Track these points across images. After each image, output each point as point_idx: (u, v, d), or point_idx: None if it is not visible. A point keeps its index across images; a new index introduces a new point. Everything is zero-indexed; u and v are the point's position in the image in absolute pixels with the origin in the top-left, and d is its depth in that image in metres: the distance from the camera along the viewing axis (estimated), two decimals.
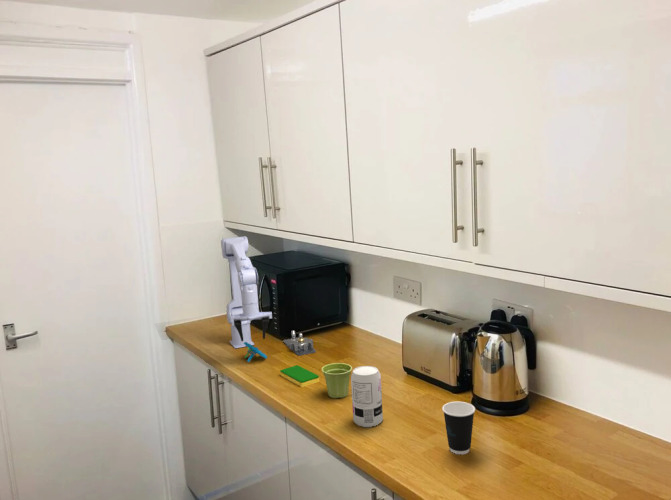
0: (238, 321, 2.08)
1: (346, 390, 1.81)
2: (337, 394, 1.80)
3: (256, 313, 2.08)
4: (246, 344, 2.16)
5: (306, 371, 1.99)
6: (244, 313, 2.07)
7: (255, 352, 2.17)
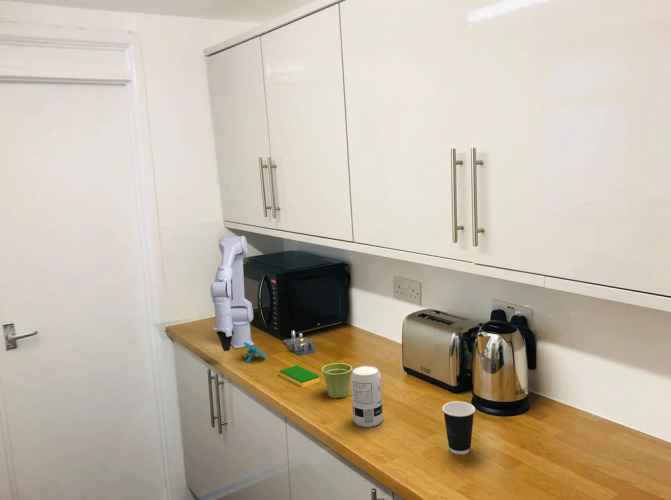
0: None
1: (346, 390, 1.81)
2: (337, 394, 1.80)
3: (219, 326, 2.10)
4: (245, 344, 2.16)
5: (306, 371, 1.99)
6: None
7: (254, 352, 2.17)
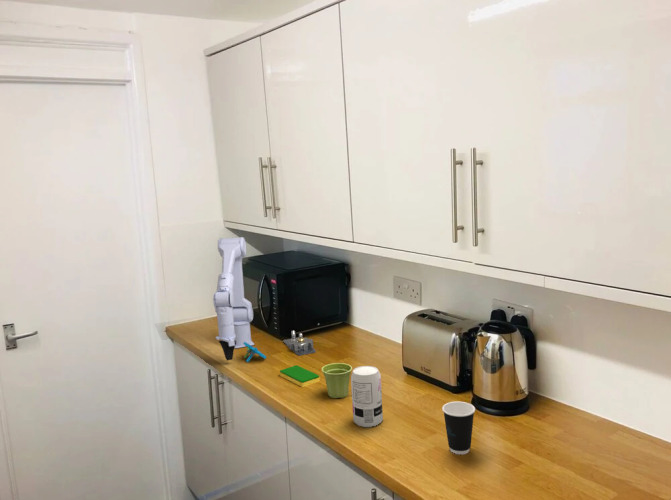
0: None
1: (346, 390, 1.81)
2: (337, 394, 1.80)
3: (222, 335, 2.11)
4: (245, 344, 2.16)
5: (306, 371, 1.99)
6: None
7: (254, 352, 2.17)
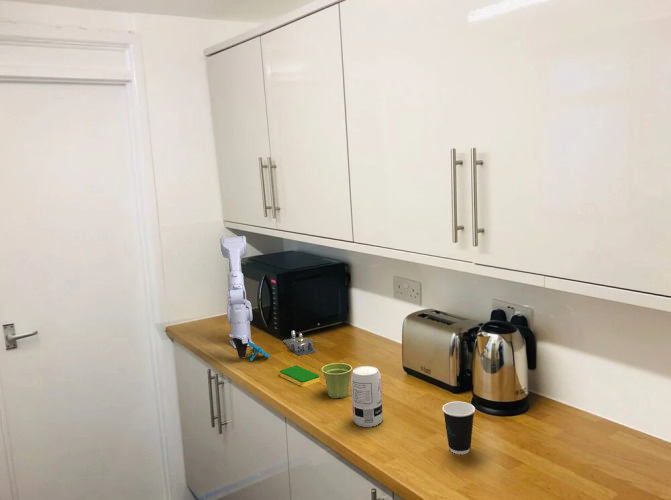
0: None
1: (346, 390, 1.81)
2: (337, 394, 1.80)
3: (235, 333, 2.13)
4: (249, 343, 2.17)
5: (306, 371, 1.99)
6: None
7: (258, 351, 2.18)
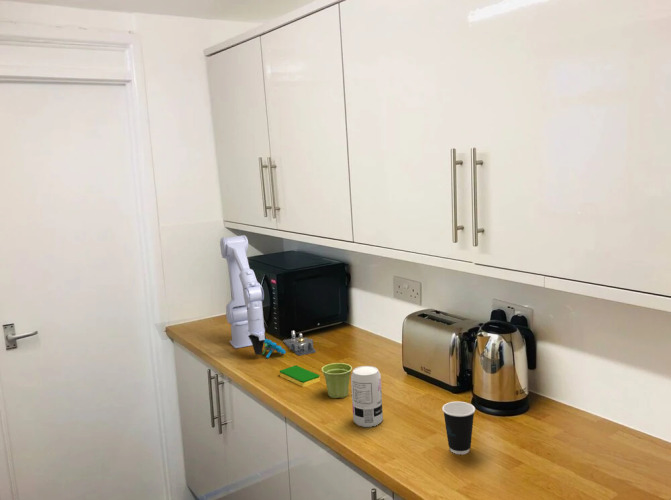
0: None
1: (346, 390, 1.81)
2: (337, 394, 1.80)
3: (252, 330, 2.15)
4: (265, 340, 2.19)
5: (306, 371, 1.99)
6: None
7: (274, 348, 2.20)
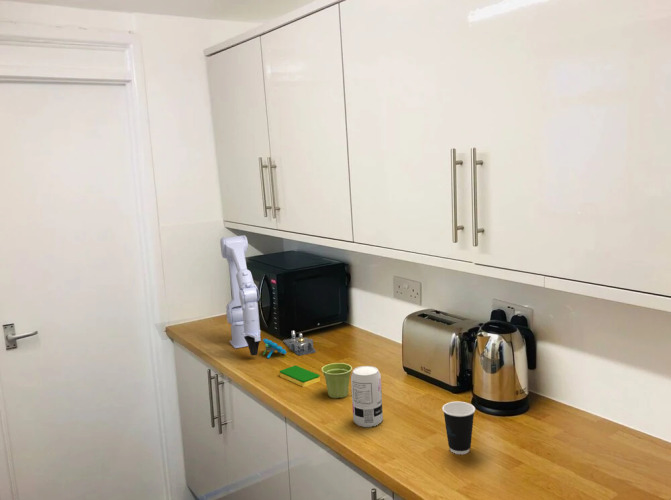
0: None
1: (346, 390, 1.81)
2: (337, 394, 1.80)
3: (247, 331, 2.15)
4: (266, 340, 2.19)
5: (306, 371, 1.99)
6: None
7: (275, 348, 2.20)
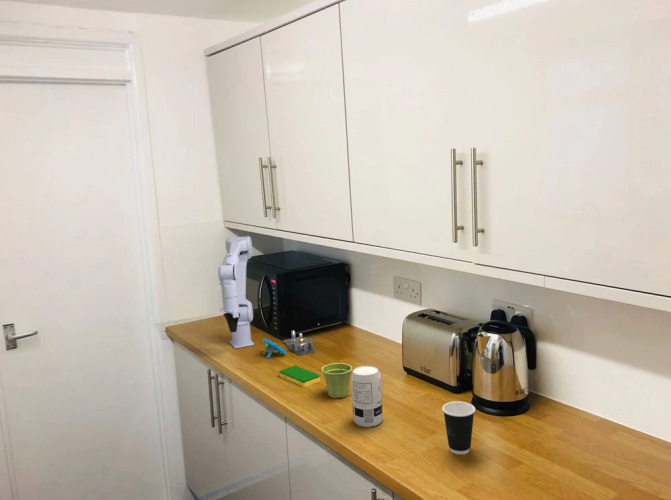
0: None
1: (346, 390, 1.81)
2: (337, 394, 1.80)
3: (226, 308, 2.18)
4: (266, 341, 2.19)
5: (306, 371, 1.99)
6: None
7: (274, 348, 2.20)
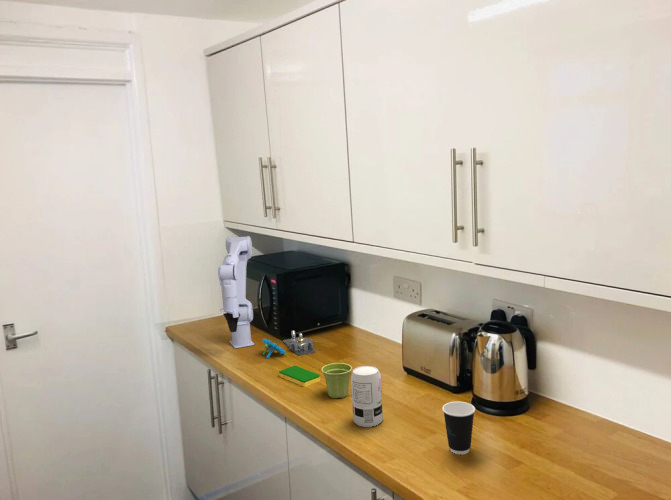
0: None
1: (346, 390, 1.81)
2: (337, 394, 1.80)
3: (226, 308, 2.18)
4: (265, 341, 2.19)
5: (306, 371, 1.99)
6: None
7: (274, 348, 2.20)
